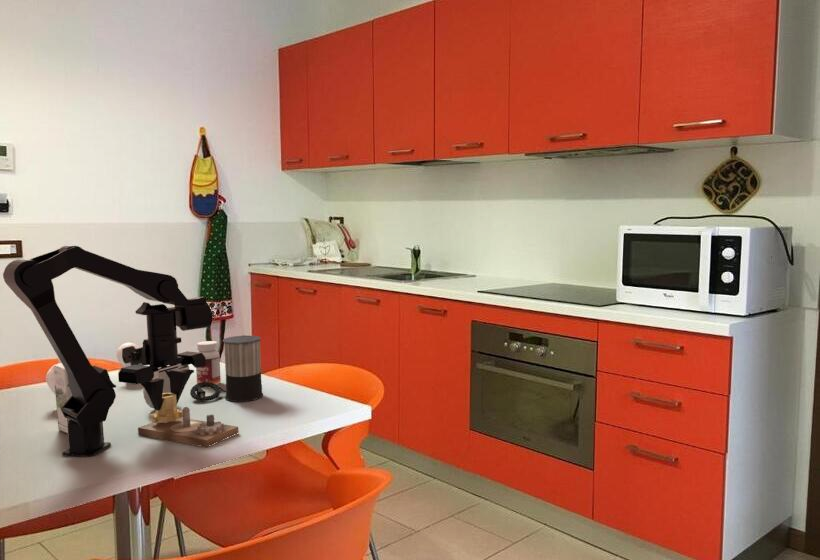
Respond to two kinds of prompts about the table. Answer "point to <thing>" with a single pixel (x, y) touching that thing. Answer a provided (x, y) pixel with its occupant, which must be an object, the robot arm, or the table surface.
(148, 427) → the board
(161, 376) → the donut
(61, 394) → the syrup box
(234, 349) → the milk frother
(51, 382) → the spinning top
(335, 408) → the table surface
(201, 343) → the pill bottle
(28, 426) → the table surface
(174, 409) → the brass gear
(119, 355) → the lightbulb
